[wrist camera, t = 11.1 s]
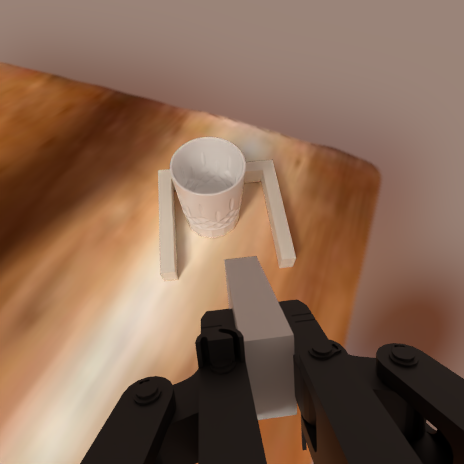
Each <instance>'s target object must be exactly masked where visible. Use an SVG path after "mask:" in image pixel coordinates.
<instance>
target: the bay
mask: <svg viewBox="0 0 464 464" xmlns="http://www.w3.org/2000/svg"><path fill="white" fill-rule="evenodd" d="M260 181H261V182H262V187H263V192H264V197H265V201H266V206H267V211H268V216H269V221H270V225H271V230H272V235H273V240H274V244H275V249H276V254H277V259H278V264H279V268H285V267H293V265H294V262H295V259H296V256H295V252H294V247H293V243H292V239H291V235H290V231H289V226H288V222H287V218H286V214H285V210H284V205H283V201H282V197H281V193H280V189H279V184H278V180H277V176H276V172H275V168H274V164H273V160H262V161H252V162H246V171H245V179H244V183H249V182H260ZM158 188H159V237H160V274H161V276H162V278H163V280H164V281H172V280H178V272H177V251H176V229H175V208H174V190H176V189H175V186H174V182H173V179H172V176H171V173H170V169H167V170H158Z"/></svg>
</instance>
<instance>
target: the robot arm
mask: <svg viewBox="0 0 464 464" xmlns="http://www.w3.org/2000/svg"><path fill="white" fill-rule="evenodd" d="M224 261H225V272H226V282H227V292H228V302H229V309H223V310H215V311H207V312H206V313H205V314H204V316H203V317H202V318H201V334H200V335H199V336H198V337H197V339H196V342H195V344H196V351H197V359H198V367H199V369H198V370H197V371H196V372H195V374H194V375H192V376H191V377H189V378H188V379H186V380H184V381H182V382H180V383H177V384H174V385H172V383H171V382H170V381H169V380H167V379H166V378H163V377H158V376H154V377H147V378H144V379H141V380H138V381H137V382H135V383H133V384H132V385H130V386H129V387H128V388H127V390H126V391H125V392H124V393H123V395H122V396H121V398H120V399H119V401H118V403H117V404H116V406H115V408H114V409H113V411H112V412H111V414H110V416H109V417H108V419H107V421H106V422H105V424H104V426H103V427H102V429H101V430H100V432H99V434H98V435H97V437H96V439H95V440H94V442H93V444H92V445H91V447H90V448H89V450H88V452H87V453H86V455H85V457H84V458H83V460H82V461H81V463H80V464H196V463H198V464H267V462H266V458H265V453H264V448H263V443H262V438H261V433H260V429H259V424H258V420H261V419H268V418H275V417H282V416H289V415H296V414H297V403H298V406H299V409H300V411H301V430H302V448H303V450H307V449H306V442H307V445H308V448H309V451H310V454H311V457H312V460H313V462H314V464H464V379H463V378H461V377H460V376H458V375H457V374H455V373H454V372H452V371H451V370H449V369H448V368H446V367H445V366H443V365H442V364H440V363H439V362H437V361H436V360H434V359H433V358H431V357H430V356H428V355H427V354H425V353H424V352H422V351H421V350H419V349H416V348H414V347H412V346H408V345H405V344H396V343H393V344H386V345H383V346H382V347H380V348H379V349H378V351H377V353H376V358H369V357H358V356H352V355H349V354H348V353H347V352H346V350H345V349H344V348H343V347H342V346H341V345H340V344H339V343H337V342H334V341H332V340H328V338H327V336H326V335H325V333H324V332H323V330H322V329H321V327H320V325H319V324H318V322H317V321H316V320H315V318H314V316H313V314H311V311H310V310H309V308H308V307H307V305H305V304H304V303H302V302H300V301H299V300H289V301H281V302H278V301H277V299H276V296H275V294H274V292H273V290H272V288H271V286H270V284H269V282H268V280H267V277H266V275H265V273H264V271H263V269H262V267H261V265H260V263H259V261H258V259H257V256H253V257H244V258H235V259H226V260H224ZM296 401H297V402H296ZM426 419H427V420H428V421H429V422H430V423H431V424H432V425H433V426H435V427H436V428H437V431H436V430H434V429H432V428H431V427H430V426H429V425H428V424H427V423H426Z"/></svg>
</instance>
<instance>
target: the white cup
mask: <svg viewBox="0 0 464 464" xmlns="http://www.w3.org/2000/svg"><path fill="white" fill-rule="evenodd" d="M245 171H246V160H245V157H244V155H243V153H242V151H241V150H240V149H239V148H238V147H237V146H236V145H235V144H233V143H231V142H230V141H228V140H225V139H222V138H218V137H201V138H196V139H193V140H191V141H188V142H186V143H185V144H183V145H182V146H181V147H179V148H178V149H177V150H176V152H175V153H174V155H173V156H172V159H171V162H170V173H171V176H172V179H173V182H174V186H175V189H176V192H177V195H178V199H179V201H180V204H181V207H182V210H183V212H184V215H185V217H186V220H187V222H188V224H189V226H190V228H191V230H193V231H194V232H196V233H197V234H198V235H200V236H203V237H208V238H216V237H220V236H224V235H226V234H227V233H229V232H230V231H231V230H233V229H234V227H235V225H236V223H237V221H238V219H239V211H240V207H241V202H242V196H243V188H244V179H245Z"/></svg>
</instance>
